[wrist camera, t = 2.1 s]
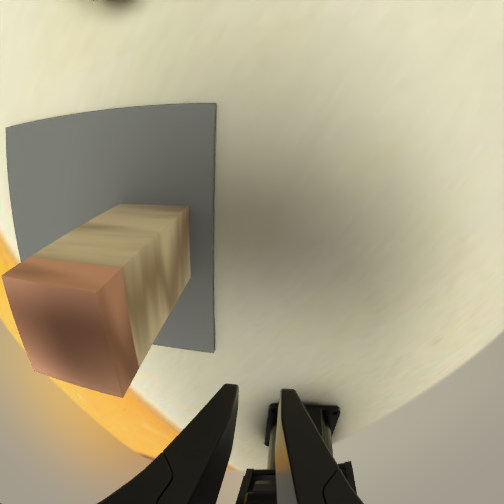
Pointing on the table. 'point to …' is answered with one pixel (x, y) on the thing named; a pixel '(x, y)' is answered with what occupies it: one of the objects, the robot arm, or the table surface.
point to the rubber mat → (122, 188)
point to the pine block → (101, 294)
